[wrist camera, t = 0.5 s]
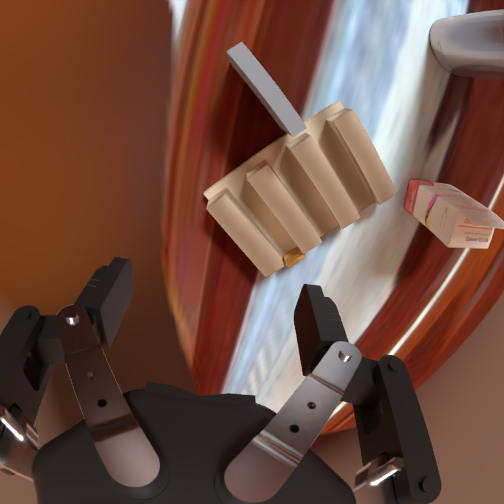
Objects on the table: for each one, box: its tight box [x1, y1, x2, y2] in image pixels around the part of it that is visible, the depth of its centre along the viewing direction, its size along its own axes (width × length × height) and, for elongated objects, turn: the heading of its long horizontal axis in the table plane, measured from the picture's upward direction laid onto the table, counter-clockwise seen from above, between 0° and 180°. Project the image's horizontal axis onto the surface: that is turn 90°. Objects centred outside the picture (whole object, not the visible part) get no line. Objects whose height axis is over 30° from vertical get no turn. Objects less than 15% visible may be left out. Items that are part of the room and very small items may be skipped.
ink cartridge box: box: [404, 179, 504, 248], centre depth 31 cm, size 9×5×15 cm, turn 89°
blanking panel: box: [227, 42, 307, 137], centre depth 27 cm, size 2×10×9 cm, turn 36°
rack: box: [204, 101, 397, 277], centre depth 35 cm, size 20×14×4 cm
